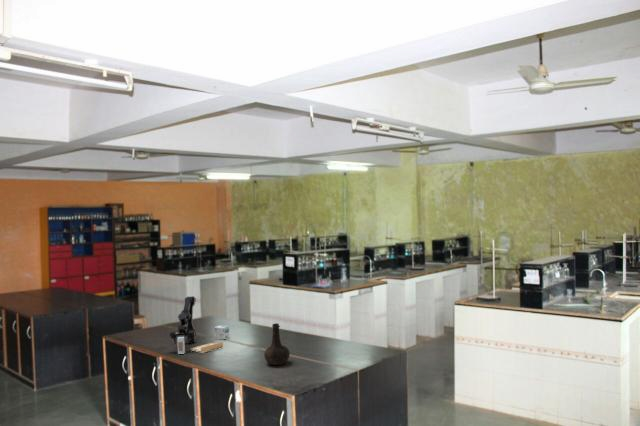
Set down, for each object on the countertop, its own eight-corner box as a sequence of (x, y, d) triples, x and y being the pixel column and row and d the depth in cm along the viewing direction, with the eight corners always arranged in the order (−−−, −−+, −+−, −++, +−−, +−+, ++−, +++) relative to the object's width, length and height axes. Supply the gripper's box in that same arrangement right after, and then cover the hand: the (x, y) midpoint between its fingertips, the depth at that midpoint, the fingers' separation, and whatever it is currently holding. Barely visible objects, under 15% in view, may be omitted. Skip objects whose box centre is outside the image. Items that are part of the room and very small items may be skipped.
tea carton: (179, 353, 397) (178, 337, 397) (185, 353, 397) (184, 336, 397) (177, 355, 393) (177, 338, 393) (183, 354, 393) (183, 338, 393)
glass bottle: (273, 369, 346) (271, 328, 346) (260, 363, 361) (258, 324, 361) (294, 363, 357) (293, 323, 357) (281, 358, 371) (279, 320, 371)
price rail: (201, 351, 393) (200, 347, 393) (222, 345, 408) (221, 341, 408) (201, 351, 393) (201, 347, 393) (222, 345, 407) (222, 342, 407)
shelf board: (190, 351, 403) (189, 348, 403) (211, 345, 418) (210, 342, 418) (201, 354, 393) (201, 351, 393) (222, 348, 407) (222, 345, 407)
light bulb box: (229, 338, 440) (229, 325, 440) (225, 340, 434) (224, 327, 434) (219, 337, 444) (219, 325, 444) (214, 339, 438) (214, 326, 438)
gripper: (169, 321, 401) (166, 338, 389) (193, 320, 402) (191, 337, 390) (172, 329, 408) (169, 346, 397) (196, 327, 409) (194, 345, 398)
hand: (181, 343), depth 396 cm, fingers open, 9 cm apart
